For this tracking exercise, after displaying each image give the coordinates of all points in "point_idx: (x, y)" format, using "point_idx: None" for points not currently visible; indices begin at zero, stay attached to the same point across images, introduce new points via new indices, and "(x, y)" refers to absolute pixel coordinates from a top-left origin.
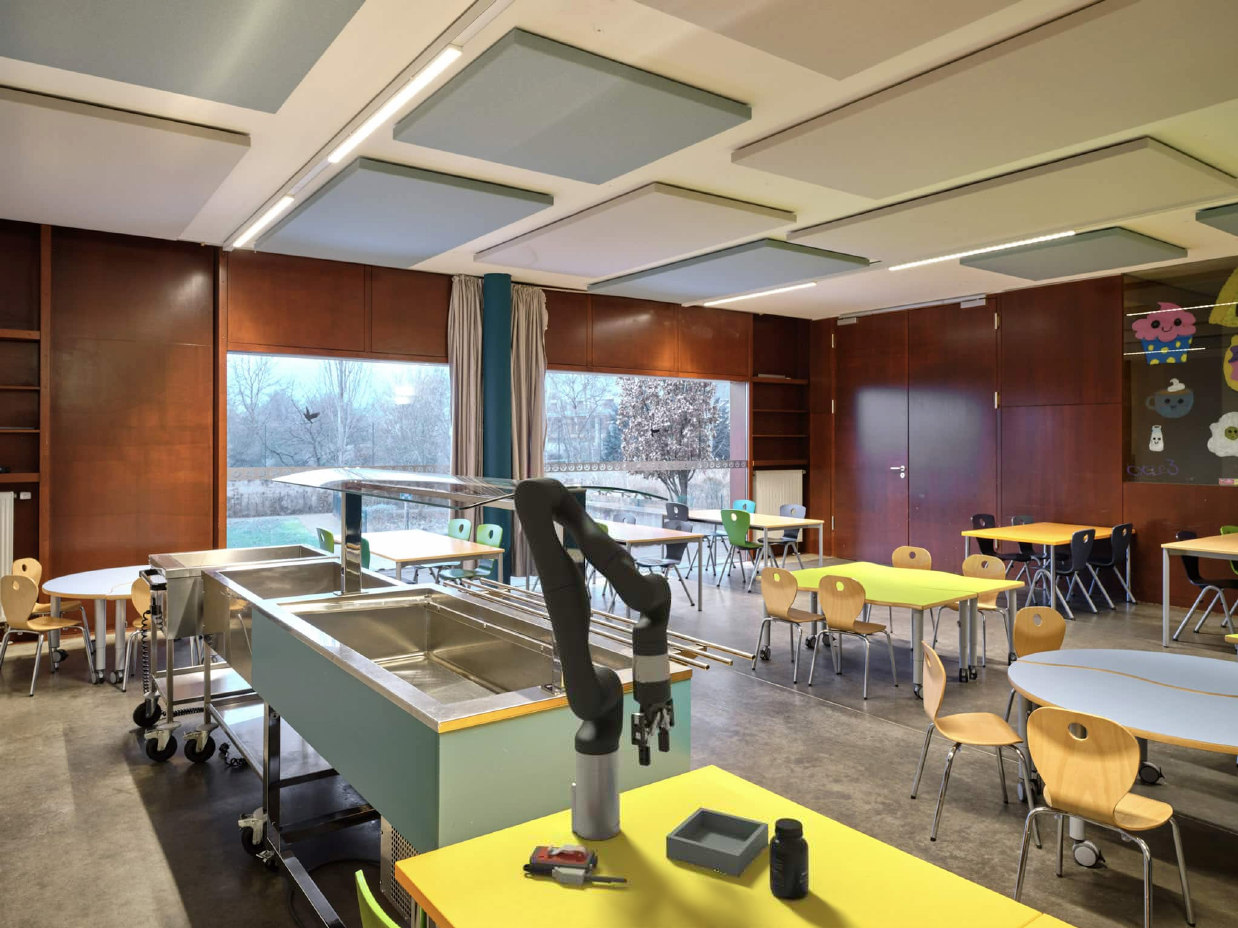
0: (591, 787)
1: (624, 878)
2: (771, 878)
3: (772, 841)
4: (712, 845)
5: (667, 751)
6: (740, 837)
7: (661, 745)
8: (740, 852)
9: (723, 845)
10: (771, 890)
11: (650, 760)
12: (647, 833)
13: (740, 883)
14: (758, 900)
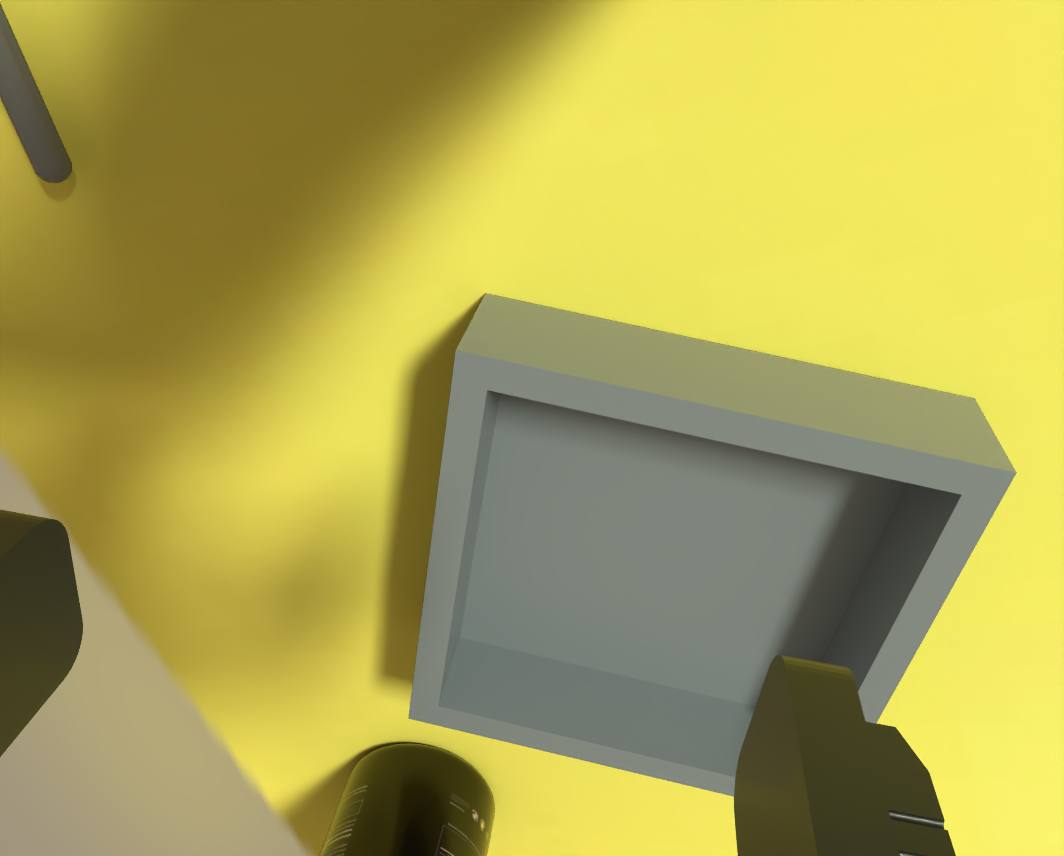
0: None
1: (45, 171)
2: (356, 796)
3: None
4: (677, 518)
5: (737, 778)
6: (818, 631)
7: (780, 775)
8: (449, 724)
9: (697, 567)
10: (374, 752)
11: (33, 707)
12: (781, 60)
13: (397, 647)
14: (309, 707)
